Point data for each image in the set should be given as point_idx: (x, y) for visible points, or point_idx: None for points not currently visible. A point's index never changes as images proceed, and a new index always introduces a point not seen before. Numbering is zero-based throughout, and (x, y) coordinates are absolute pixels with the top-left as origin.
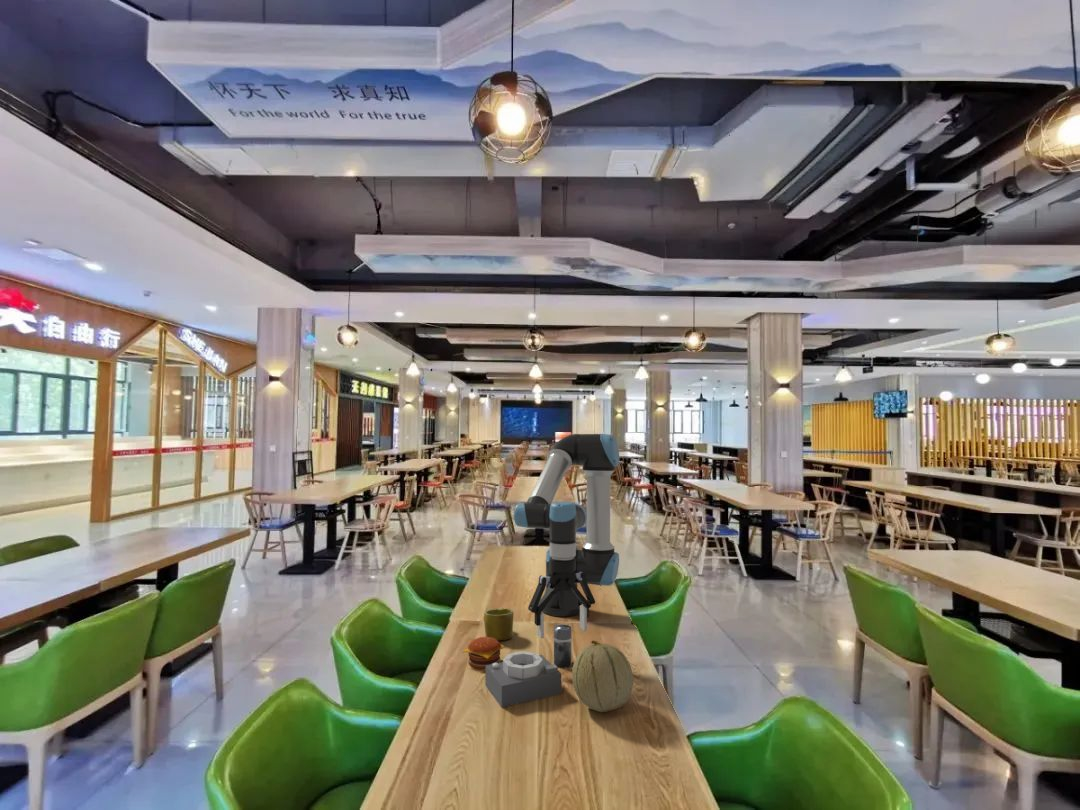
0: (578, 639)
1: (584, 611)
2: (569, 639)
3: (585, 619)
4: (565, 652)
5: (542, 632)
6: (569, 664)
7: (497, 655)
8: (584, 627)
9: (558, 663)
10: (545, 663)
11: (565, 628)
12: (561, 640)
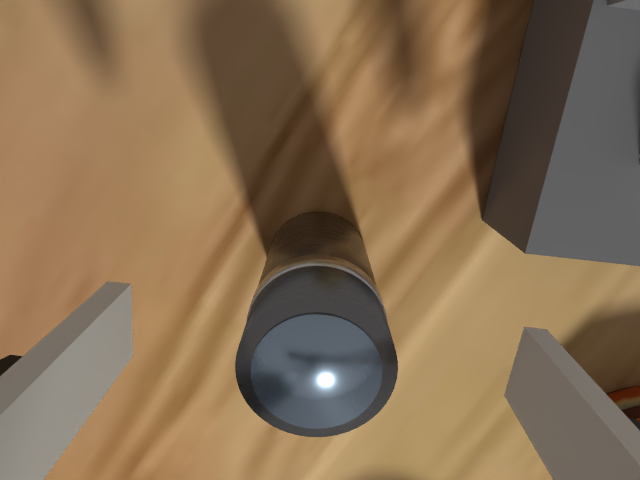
0: (86, 444)
1: (18, 396)
2: (297, 265)
3: (63, 336)
4: (333, 237)
5: (560, 354)
6: (302, 216)
7: None
8: (115, 298)
9: (362, 242)
10: (595, 121)
11: (311, 338)
12: (363, 281)
